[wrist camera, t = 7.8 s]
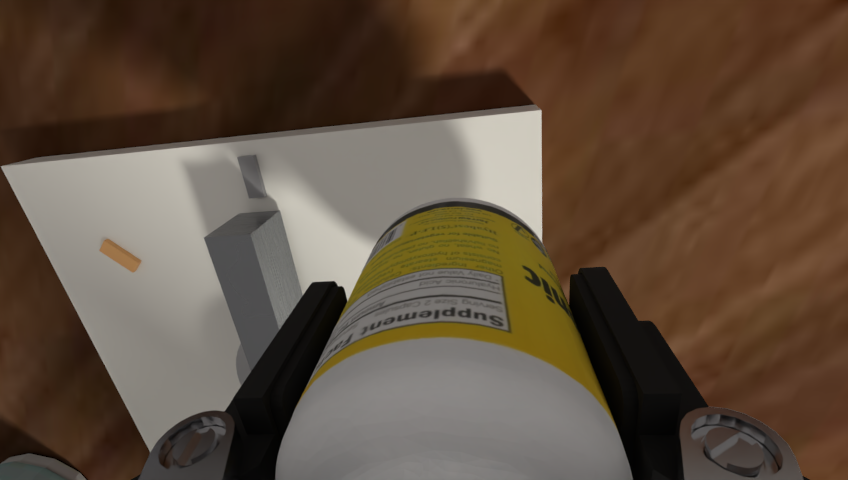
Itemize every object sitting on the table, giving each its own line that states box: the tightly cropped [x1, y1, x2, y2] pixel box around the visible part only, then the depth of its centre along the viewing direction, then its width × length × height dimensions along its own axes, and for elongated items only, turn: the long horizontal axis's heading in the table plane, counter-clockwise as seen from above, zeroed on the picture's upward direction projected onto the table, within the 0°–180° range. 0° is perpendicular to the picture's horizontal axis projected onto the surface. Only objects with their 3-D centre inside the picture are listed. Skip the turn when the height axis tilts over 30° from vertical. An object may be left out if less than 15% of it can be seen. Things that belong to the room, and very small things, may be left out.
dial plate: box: [1, 105, 542, 452], centre depth 18 cm, size 20×17×2 cm
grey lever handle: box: [204, 210, 303, 371], centre depth 16 cm, size 10×4×3 cm, turn 7°
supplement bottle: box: [275, 198, 633, 480], centre depth 8 cm, size 5×5×10 cm
